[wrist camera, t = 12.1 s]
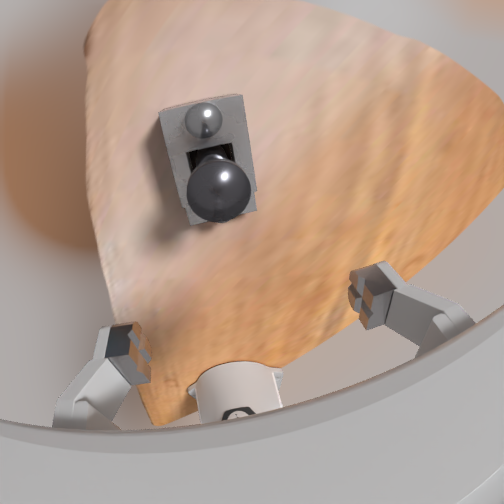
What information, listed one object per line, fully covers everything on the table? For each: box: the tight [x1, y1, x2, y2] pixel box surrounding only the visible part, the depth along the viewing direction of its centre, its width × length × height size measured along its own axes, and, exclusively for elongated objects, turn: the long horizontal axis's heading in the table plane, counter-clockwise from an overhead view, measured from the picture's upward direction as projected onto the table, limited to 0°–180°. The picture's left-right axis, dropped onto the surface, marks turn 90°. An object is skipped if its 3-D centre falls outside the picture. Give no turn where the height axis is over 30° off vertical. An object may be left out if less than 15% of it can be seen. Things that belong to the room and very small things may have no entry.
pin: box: [187, 145, 251, 222], centre depth 23 cm, size 4×4×10 cm
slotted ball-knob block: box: [159, 94, 257, 226], centre depth 25 cm, size 12×7×5 cm, turn 8°
